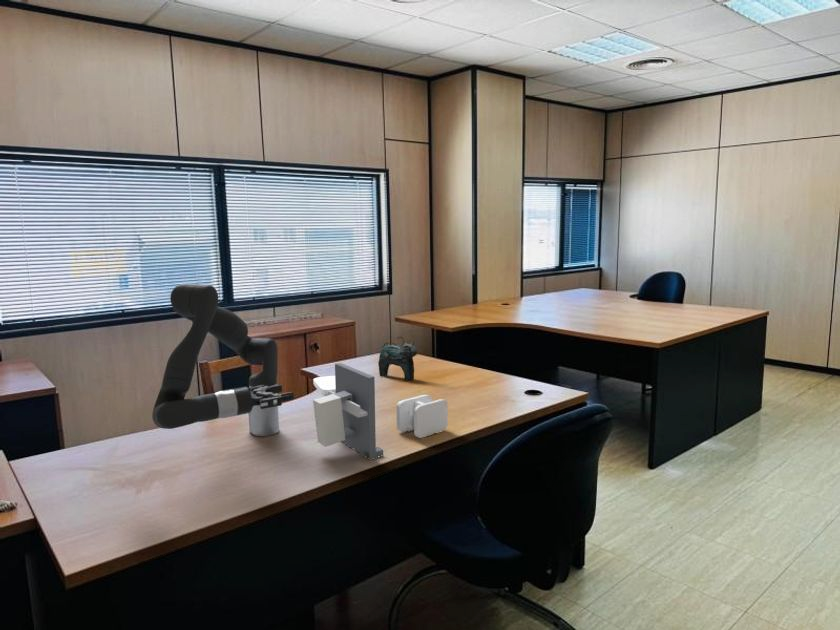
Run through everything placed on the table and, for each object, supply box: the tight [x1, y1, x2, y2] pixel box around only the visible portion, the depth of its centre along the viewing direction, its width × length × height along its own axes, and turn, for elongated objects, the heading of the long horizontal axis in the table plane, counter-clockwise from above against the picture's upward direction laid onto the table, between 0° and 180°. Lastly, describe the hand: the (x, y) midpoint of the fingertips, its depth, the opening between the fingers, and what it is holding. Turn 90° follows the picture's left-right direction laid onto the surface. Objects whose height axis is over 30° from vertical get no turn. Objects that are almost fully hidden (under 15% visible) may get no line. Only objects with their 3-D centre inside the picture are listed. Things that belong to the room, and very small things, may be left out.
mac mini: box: [313, 375, 336, 396], centre depth 256 cm, size 22×22×3 cm
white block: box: [312, 391, 356, 448], centre depth 179 cm, size 5×11×14 cm, turn 125°
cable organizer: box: [396, 394, 449, 439], centre depth 198 cm, size 15×11×12 cm
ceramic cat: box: [378, 336, 418, 382], centre depth 268 cm, size 20×6×20 cm, turn 58°
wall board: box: [327, 362, 384, 460], centre depth 183 cm, size 22×8×26 cm, turn 35°
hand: (287, 391), depth 168 cm, fingers open, 8 cm apart
